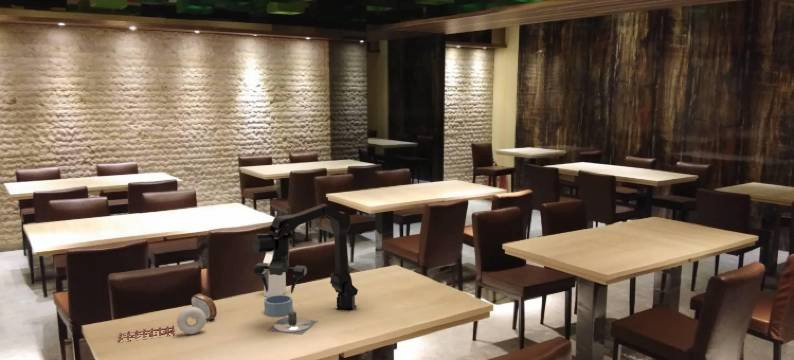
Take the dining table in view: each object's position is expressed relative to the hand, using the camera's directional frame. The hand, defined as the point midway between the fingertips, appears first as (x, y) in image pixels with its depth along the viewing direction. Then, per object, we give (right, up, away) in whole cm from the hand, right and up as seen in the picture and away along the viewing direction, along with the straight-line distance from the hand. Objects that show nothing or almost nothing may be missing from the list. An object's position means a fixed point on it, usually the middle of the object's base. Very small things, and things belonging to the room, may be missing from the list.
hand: (279, 292), depth 228 cm
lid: (+5, -12, 0) cm, 13 cm away
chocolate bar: (-47, -15, -7) cm, 49 cm away
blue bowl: (-3, -11, +15) cm, 19 cm away
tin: (-32, -12, +11) cm, 36 cm away
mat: (+5, -13, +1) cm, 14 cm away
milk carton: (-9, -8, +38) cm, 40 cm away
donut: (-30, -14, -6) cm, 34 cm away
